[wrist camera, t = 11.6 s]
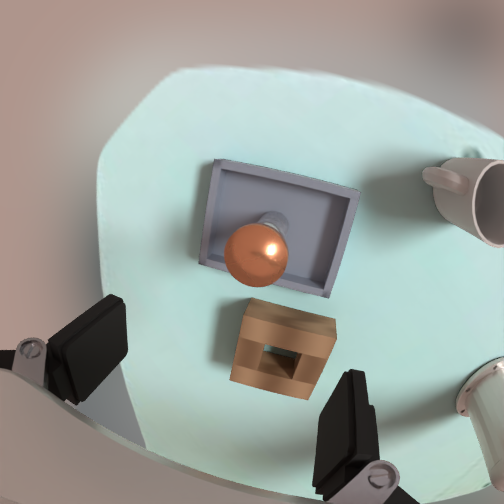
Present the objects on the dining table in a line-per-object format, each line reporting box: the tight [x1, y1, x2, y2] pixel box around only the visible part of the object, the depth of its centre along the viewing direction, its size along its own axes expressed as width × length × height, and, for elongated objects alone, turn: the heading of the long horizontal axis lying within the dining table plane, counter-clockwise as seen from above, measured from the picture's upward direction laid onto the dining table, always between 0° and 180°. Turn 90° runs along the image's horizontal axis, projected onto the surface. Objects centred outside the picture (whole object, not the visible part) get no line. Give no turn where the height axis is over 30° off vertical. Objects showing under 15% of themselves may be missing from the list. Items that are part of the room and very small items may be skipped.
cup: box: [422, 158, 504, 248], centre depth 20 cm, size 7×10×9 cm
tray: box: [199, 159, 361, 298], centre depth 28 cm, size 14×11×2 cm
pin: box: [224, 211, 289, 287], centre depth 24 cm, size 4×4×10 cm
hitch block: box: [230, 298, 337, 400], centre depth 32 cm, size 10×10×4 cm
